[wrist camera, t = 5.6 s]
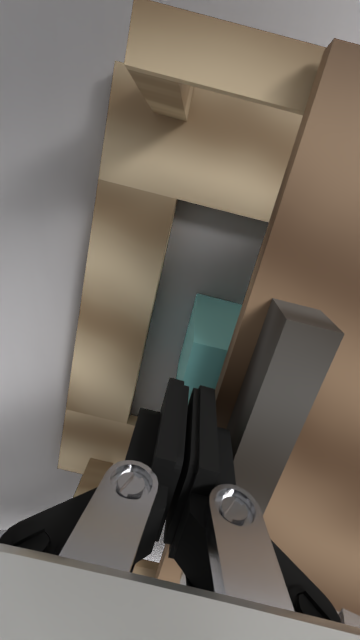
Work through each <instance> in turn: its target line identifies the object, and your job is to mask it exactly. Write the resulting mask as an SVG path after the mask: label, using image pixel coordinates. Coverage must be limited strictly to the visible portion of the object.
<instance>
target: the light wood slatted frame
mask: <svg viewBox="0 0 360 640" xmlns="http://www.w3.org/2000/svg"><path fill="white" fill-rule="evenodd" d="M325 49H326V47H322V46H318V45H315V44H311V43H307V42H304V41H300V40H296V39H292V38H289V37H285V36H281V35H277V34H274V33H270V32H266V31H262V30H259V29H255V28H251V27H247V26H244V25H240V24H236V23H232V22H229V21H225V20H221V19H218V18H214V17H210V16H206V15H203V14H199V13H195V12H191V11H188V10H184V9H180V8H176V7H173V6H169V5H165V4H161V3H158V2H154V1H150V0H134V1H133V8H132V14H131V21H130V28H129V34H128V41H127V48H126V54H125V61H124V63H122V62H118V61H115V64H114V71H113V78H112V85H111V92H110V99H109V106H108V113H107V120H106V127H105V135H104V142H103V149H102V156H101V163H100V170H99V177H98V184H97V191H96V198H95V205H94V212H93V220H92V227H91V234H90V241H89V248H88V255H87V262H86V269H85V276H84V283H83V290H82V297H81V305H80V312H79V319H78V326H77V333H76V340H75V347H74V354H73V361H72V368H71V375H70V383H69V390H68V397H67V404H66V411H65V418H64V425H63V432H62V439H61V446H60V453H59V460H58V469H63V470H67V471H71V472H75V473H79V474H83V476H82V478H81V480H80V483H79V485H78V487H77V489H76V492H75V494H74V496H73V498H74V497H76V496H78V495H81V494H83V493H85V492H87V491H90V490H92V489H94V488H96V487H98V486H99V484H100V482H101V480H102V479H103V477H104V475H105V473H106V472H107V470H108V469H109V468H110V467H111V466H112V465H114V464H115V463H117V462H120V461H124V460H125V458H126V455H127V451H128V448H129V445H130V441H131V438H132V434H133V431H134V428H135V424H136V421H137V418H138V416H134V415H130V411H131V407H132V402H133V398H134V393H135V389H136V384H137V380H138V375H139V371H140V366H141V362H142V357H143V353H144V348H145V344H146V339H147V335H148V331H149V326H150V322H151V317H152V313H153V308H154V304H155V299H156V295H157V290H158V286H159V281H160V277H161V272H162V268H163V263H164V259H165V254H166V250H167V245H168V241H169V236H170V232H171V227H172V223H173V219H174V214H175V210H176V205H177V201H178V199H179V200H183V201H187V202H190V203H194V204H198V205H202V206H206V207H210V208H214V209H218V210H222V211H226V212H230V213H234V214H237V215H241V216H245V217H249V218H253V219H257V220H261V221H265V222H269V220H270V217H271V214H272V211H273V208H274V205H275V201H276V198H277V195H278V192H279V189H280V186H281V183H282V180H283V177H284V173H285V170H286V167H287V164H288V161H289V158H290V155H291V152H292V149H293V145H294V142H295V139H296V136H297V133H298V130H299V127H300V124H301V121H302V117H303V114H304V111H305V108H306V105H307V102H308V99H309V96H310V93H311V89H312V86H313V83H314V80H315V77H316V74H317V71H318V68H319V64H320V61H321V58H322V55H323V52H324V50H325ZM158 566H159V563H157V562H153V561H148V560H144V559H142V560H140V561H139V562H137V563H136V564H135V567H134V571H133V573H135V574H139V575H144V576H148V577H152V578H155V575H156V572H157V569H158Z"/></svg>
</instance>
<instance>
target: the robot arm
mask: <svg viewBox="0 0 360 640" xmlns="http://www.w3.org/2000/svg"><path fill="white" fill-rule="evenodd" d="M188 397H189V386H185V385H184V381H182V380H178V379H174V378H170V379H169V382H168V386H167V390H166V393H165V397H164V401H163V404H162V408H161V412H156V411H152V410H148V409H144V408H140V411H139V414H138V418H137V421H136V424H135V428H134V431H133V434H132V438H131V441H130V445H129V448H128V451H127V455H126V458H125V460H124V461H120V462H117V463H115V464H114V465H112V466H111V467H110V468H109V469H108V470H107V472H106V473H105V475H104V477H103V479H102V480H101V482H100V484H99V486H98V487H96V488H94V489H92V490H90V491H87V492H85V493H83V494H81V495H78V496H76V497H74V498H72V499H69V500H67V501H65V502H63V503H61V504H58V505H56V506H54V507H52V508H49V509H47V510H45V511H43V512H40V513H38V514H36V515H34V516H32V517H29V518H27V519H25V520H23V521H20V522H18V523H17V524H15V525H13V526H12V527H10V528H9V529H8V530H0V640H360V616H358V615H356V614H354V613H352V612H350V611H348V610H346V609H344V608H342V609H341V611H340V612H339V611H337V610H335V608H334V606H333V604H332V603H331V602H330V601H329V599H328V598H327V597H326V596H325V595H324V594H323V592H322V591H321V590H320V589H319V588H318V587H317V586H316V585H315V584H314V583H313V582H312V581H311V580H310V579H309V578H308V577H307V576H306V575H305V574H304V573H303V572H302V571H301V570H300V569H299V568H298V567H297V566H296V565H295V564H294V563H293V562H292V561H291V560H290V558H289V557H288V556H287V555H286V554H285V553H284V552H283V551H282V550H281V549H280V548H279V547H278V546H277V545H276V544H275V543H274V542H273V541H272V540H271V539H270V536H269V533H268V530H267V527H266V524H265V521H264V518H263V515H262V512H261V509H260V507H259V505H258V503H257V501H256V500H255V499H254V498H253V496H252V495H251V494H249V493H248V492H247V491H246V490H244V489H242V488H240V487H238V486H236V479H235V471H234V462H233V453H232V444H231V435H230V431H229V430H228V429H224V428H220V427H217V416H216V398H215V389H214V388H210V387H206V386H202V385H200V386H199V388H198V389H197V388H193V390H192V393H191V396H190V399H189V403H188ZM165 520H166V523H165ZM164 523H165V531H164V543H165V544H169V555H168V558H172V559H174V560H175V561H176V563H177V564H178V565H179V567H180V568H181V570H182V571H181V574H180V584H177V583H173V582H169V581H165V580H161V579H156V578H152V577H148V576H144V575H139V574H135V573H133V571H134V567H135V564H136V563H137V562H139V561H140V560H142V559H143V558H145V557H146V556H148V555H149V554H151V552H152V549H153V546H154V543H155V541H157V542H158V541H159V538H160V535H161V532H162V529H163V526H164Z"/></svg>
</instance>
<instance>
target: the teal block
mask: <svg viewBox="0 0 360 640" xmlns="http://www.w3.org/2000/svg"><path fill="white" fill-rule="evenodd" d="M241 307H242V304H238V303H234V302H230V301H226V300H222V299H218V298H214V297H210V296H206V295H202V294H198V293H197V294H196V298H195V302H194V306H193V309H192V313H191V317H190V321H189V324H188V328H187V332H186V336H185V339H184V343H183V347H182V351H181V354H180V358H179V363H178V370H177V376H176V379H178V380H182V381H184V385H185V386H189V397H188V403H189V399H190V396H191V393H192V390H193V388H197V389H198V388H199V386H200V385H202V386H206V387H210V388H214V389H215V388H216V385H217V382H218V379H219V376H220V373H221V370H222V367H223V363H224V360H225V357H226V354H227V351H228V348H229V345H230V342H231V338H232V335H233V332H234V329H235V326H236V323H237V320H238V317H239V314H240V310H241Z"/></svg>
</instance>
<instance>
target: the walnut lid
mask: <svg viewBox="0 0 360 640" xmlns="http://www.w3.org/2000/svg"><path fill="white" fill-rule="evenodd" d="M215 398H216V416H217V427H220V428H224V429H228V430H229V431H230V435H231V444H232V453H233V462H234V471H235V479H236V486H238V487H240V488H242V489H244V490H246V491H247V492H248V493H249V494H251V495H252V496H253V498H254V499H255V500H256V501H257V503H258V505H259V507H260V509H261V512H262V515H263V518H264V521H265V524H266V527H267V530H268V533H269V536H270V539H271V540H272V541H273V542H274V543H275V544H276V545H277V546H278V547H279V548H280V549H281V550H282V551H283V552H284V553H285V554H286V555H287V556H288V557H289V558H290V560H291V561H292V562H293V563H294V564H295V565H296V566H297V567H298V568H299V569H300V570H301V571H302V572H303V573H304V574H305V575H306V576H307V577H308V578H309V579H310V580H311V581H312V582H313V583H314V584H315V585H316V586H317V587H318V588H319V589H320V590H321V591H322V592H323V594H324V595H325V596H326V597H327V598H328V599H329V601H330V602H331V603H332V604H333V606H334V608H335V610H337V611H339V612H340V611H341V609H342V608H344V609H346V610H348V611H350V612H352V613H354V614H356V615H358V616H360V45H358V44H354V43H351V42H347V41H343V40H339V39H336V38H334V39H333V41H332V42H331V43H330V44H329V45H328V47H327V48H326V49H325V50H324V52H323V55H322V58H321V61H320V64H319V68H318V71H317V74H316V77H315V80H314V83H313V86H312V89H311V93H310V96H309V99H308V102H307V105H306V108H305V111H304V114H303V117H302V121H301V124H300V127H299V130H298V133H297V136H296V139H295V142H294V145H293V149H292V152H291V155H290V158H289V161H288V164H287V167H286V170H285V173H284V177H283V180H282V183H281V186H280V189H279V192H278V195H277V198H276V201H275V205H274V208H273V211H272V214H271V217H270V220H269V223H268V226H267V230H266V233H265V236H264V239H263V242H262V245H261V248H260V251H259V254H258V258H257V261H256V264H255V267H254V270H253V273H252V276H251V279H250V282H249V286H248V289H247V292H246V295H245V298H244V301H243V304H242V307H241V310H240V314H239V317H238V320H237V323H236V326H235V329H234V332H233V335H232V338H231V342H230V345H229V348H228V351H227V354H226V357H225V360H224V363H223V367H222V370H221V373H220V376H219V379H218V382H217V385H216V388H215ZM168 555H169V544H165V547H164V550H163V553H162V556H161V560H160V563H159V566H158V569H157V572H156V575H155V578H156V579H161V580H165V581H169V582H173V583H177V584H180V574H181V571H182V570H181V568H180V567H179V565H178V564H177V563H176V561H175V560H174V559H172V558H168Z"/></svg>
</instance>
